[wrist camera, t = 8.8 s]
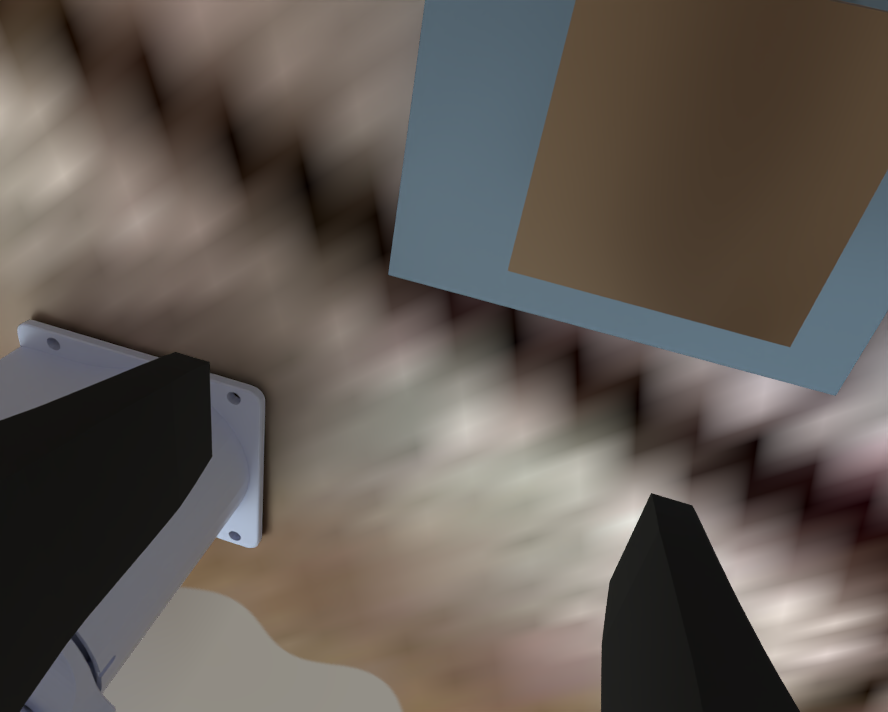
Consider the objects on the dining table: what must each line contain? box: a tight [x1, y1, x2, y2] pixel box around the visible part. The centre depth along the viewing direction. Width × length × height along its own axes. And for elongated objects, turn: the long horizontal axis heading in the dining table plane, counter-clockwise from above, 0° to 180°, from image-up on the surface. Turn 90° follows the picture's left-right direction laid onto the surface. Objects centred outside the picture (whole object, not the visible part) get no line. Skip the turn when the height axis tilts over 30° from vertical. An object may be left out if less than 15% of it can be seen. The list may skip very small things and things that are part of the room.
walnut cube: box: [508, 0, 888, 347], centre depth 12 cm, size 5×5×5 cm
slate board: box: [388, 0, 888, 396], centre depth 15 cm, size 12×12×1 cm
